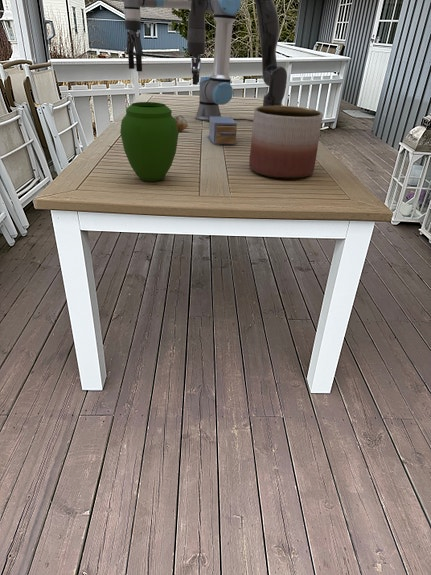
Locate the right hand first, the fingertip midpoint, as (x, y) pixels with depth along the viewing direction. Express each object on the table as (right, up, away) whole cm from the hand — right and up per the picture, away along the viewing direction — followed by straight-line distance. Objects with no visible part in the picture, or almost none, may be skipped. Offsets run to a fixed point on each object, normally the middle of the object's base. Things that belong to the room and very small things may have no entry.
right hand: (195, 83), depth 182 cm
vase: (-14, -52, -36) cm, 65 cm away
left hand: (-32, +19, +25) cm, 45 cm away
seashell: (-11, -8, +34) cm, 36 cm away
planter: (+35, -45, -21) cm, 61 cm away
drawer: (+13, -21, +15) cm, 28 cm away
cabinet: (+12, -18, +20) cm, 30 cm away
